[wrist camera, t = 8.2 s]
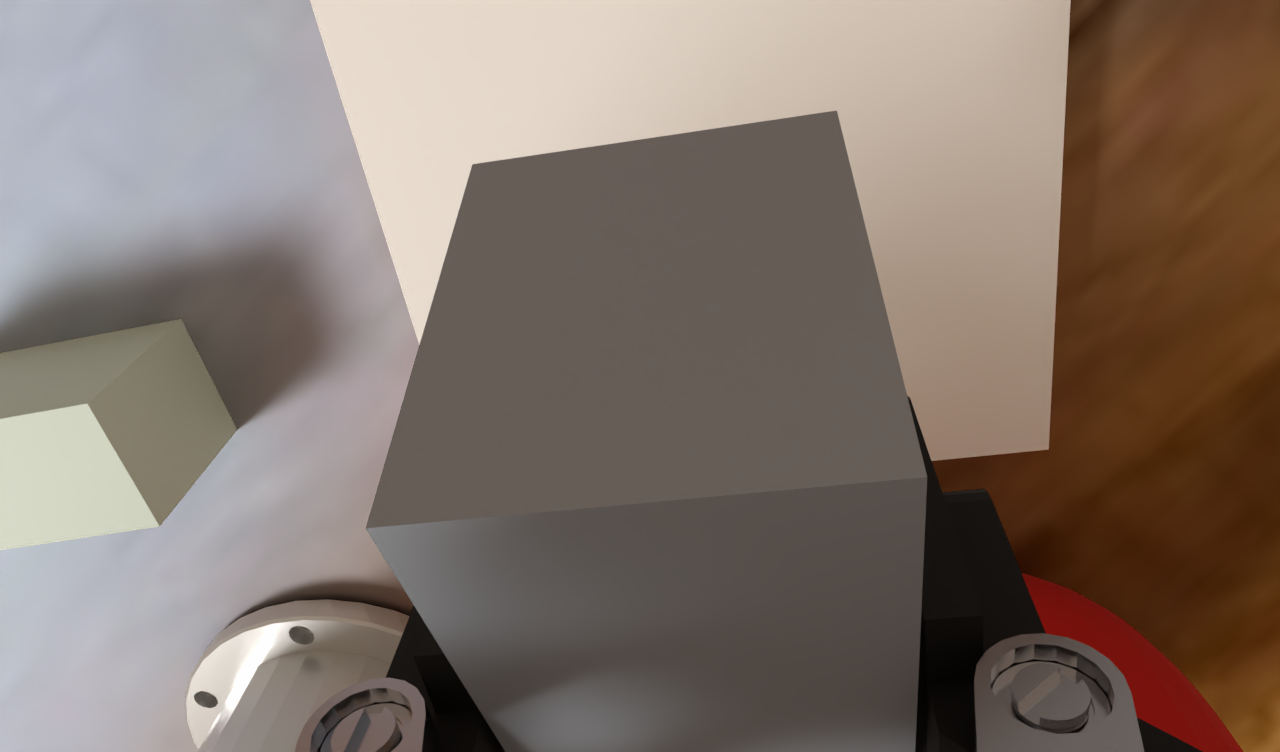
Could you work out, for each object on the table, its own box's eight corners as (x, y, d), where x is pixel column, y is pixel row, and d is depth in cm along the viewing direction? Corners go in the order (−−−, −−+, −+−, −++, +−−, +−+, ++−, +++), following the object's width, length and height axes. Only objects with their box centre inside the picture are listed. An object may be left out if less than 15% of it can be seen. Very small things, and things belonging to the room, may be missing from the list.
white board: (1033, 421, 28) (1048, 449, 27) (481, 477, 30) (470, 505, 29) (1059, -261, 20) (1083, -267, 18) (301, -110, 22) (275, -107, 21)
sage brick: (183, 316, 28) (87, 403, 24) (239, 427, 30) (159, 526, 26) (-45, 360, 30) (-175, 449, 25) (22, 463, 32) (-88, 563, 27)
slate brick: (855, 554, 15) (909, 886, 12) (613, 573, 16) (595, 896, 12) (836, 109, 10) (927, 477, 6) (471, 163, 11) (365, 527, 7)
